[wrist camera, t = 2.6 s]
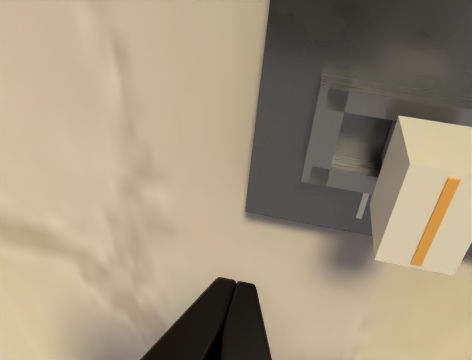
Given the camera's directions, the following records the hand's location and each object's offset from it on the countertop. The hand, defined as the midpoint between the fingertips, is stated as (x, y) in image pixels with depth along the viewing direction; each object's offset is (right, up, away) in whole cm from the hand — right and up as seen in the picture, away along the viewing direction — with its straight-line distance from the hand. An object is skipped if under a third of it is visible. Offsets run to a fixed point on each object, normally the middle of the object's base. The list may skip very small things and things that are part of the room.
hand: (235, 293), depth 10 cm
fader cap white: (+7, +4, +7) cm, 10 cm away
